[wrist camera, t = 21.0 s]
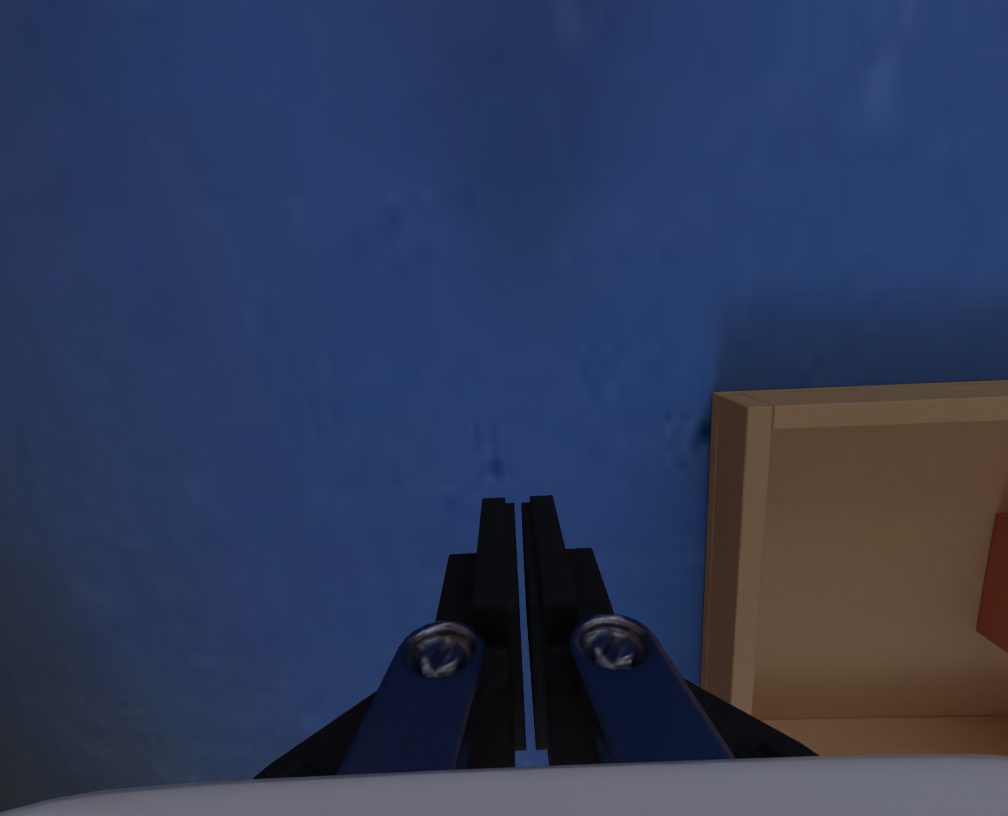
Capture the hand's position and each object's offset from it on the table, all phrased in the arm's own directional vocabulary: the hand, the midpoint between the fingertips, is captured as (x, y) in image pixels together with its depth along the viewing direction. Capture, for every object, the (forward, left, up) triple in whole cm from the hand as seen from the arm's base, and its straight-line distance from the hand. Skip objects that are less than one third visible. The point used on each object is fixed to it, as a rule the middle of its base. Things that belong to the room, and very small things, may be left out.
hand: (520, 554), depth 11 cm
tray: (+18, -5, -7) cm, 20 cm away
